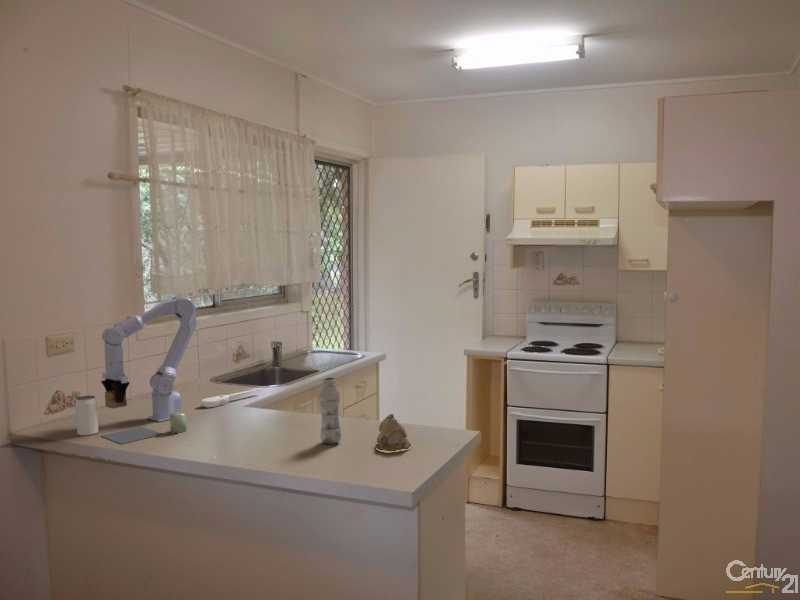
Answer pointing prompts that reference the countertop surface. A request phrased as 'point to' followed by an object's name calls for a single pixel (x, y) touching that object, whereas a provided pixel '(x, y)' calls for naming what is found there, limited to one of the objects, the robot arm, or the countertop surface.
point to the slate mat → (131, 435)
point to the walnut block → (113, 400)
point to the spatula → (221, 399)
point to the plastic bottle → (330, 412)
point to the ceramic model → (392, 435)
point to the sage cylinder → (177, 422)
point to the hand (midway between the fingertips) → (116, 401)
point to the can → (86, 415)
